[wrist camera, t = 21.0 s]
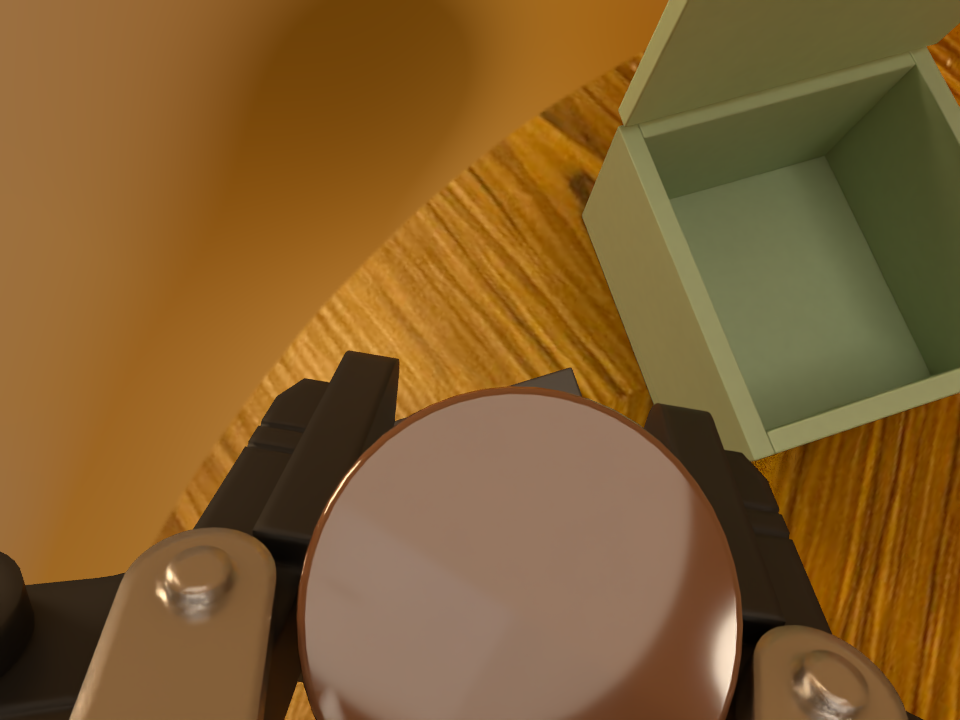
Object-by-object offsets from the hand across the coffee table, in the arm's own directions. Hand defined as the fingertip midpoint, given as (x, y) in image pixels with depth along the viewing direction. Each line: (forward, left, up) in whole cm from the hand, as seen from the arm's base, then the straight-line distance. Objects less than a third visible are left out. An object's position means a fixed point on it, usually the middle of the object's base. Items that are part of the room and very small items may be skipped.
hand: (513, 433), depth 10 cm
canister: (-1, -2, -6) cm, 6 cm away
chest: (+16, +5, -21) cm, 27 cm away
